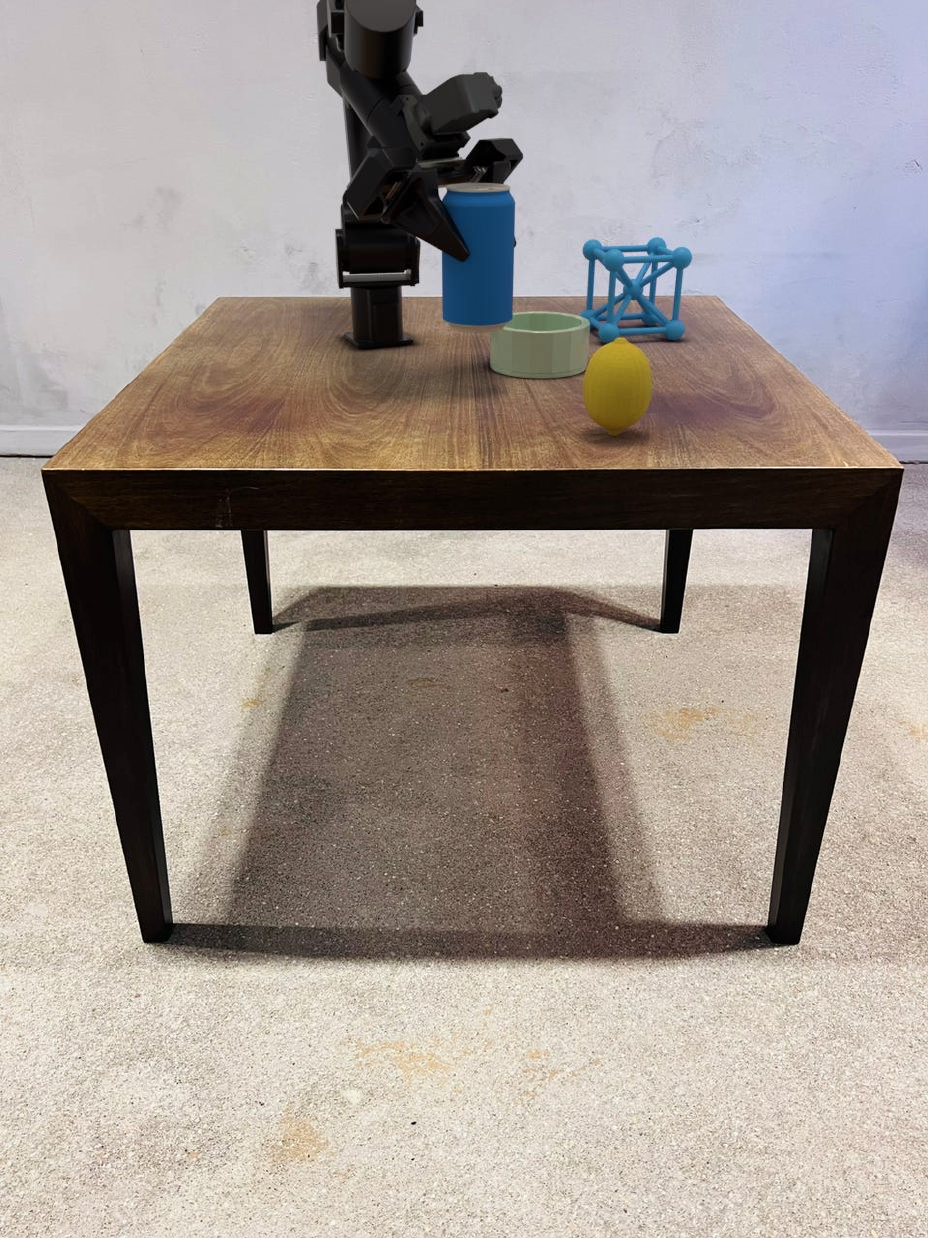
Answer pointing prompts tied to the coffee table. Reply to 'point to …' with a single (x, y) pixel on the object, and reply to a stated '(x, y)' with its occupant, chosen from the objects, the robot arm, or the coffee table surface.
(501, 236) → the beverage can
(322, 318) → the coffee table surface
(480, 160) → the robot arm
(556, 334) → the collar
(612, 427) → the lemon
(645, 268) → the molecular structure
